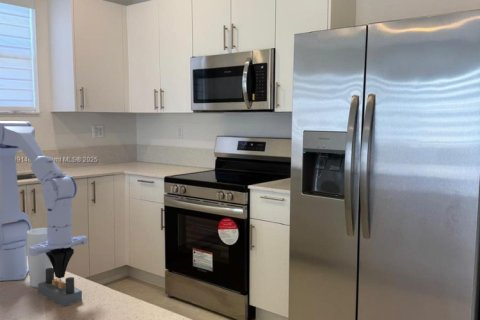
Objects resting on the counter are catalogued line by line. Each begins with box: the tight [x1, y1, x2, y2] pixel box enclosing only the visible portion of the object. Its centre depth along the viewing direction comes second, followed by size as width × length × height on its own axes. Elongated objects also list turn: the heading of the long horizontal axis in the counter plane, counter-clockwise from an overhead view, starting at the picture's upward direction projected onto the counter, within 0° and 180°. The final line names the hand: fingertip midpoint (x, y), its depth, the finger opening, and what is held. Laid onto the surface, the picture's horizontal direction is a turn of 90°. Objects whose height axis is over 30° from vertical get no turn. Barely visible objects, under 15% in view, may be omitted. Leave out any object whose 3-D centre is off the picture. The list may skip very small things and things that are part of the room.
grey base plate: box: [37, 277, 83, 307], centre depth 108 cm, size 12×5×2 cm, turn 53°
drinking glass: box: [25, 227, 53, 289], centre depth 114 cm, size 7×7×15 cm
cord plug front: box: [65, 276, 75, 294], centre depth 105 cm, size 2×2×4 cm
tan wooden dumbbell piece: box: [52, 277, 66, 289], centre depth 108 cm, size 4×2×1 cm, turn 53°
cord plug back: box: [46, 267, 55, 284], centre depth 110 cm, size 2×2×4 cm
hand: (59, 276), depth 107 cm, fingers closed
